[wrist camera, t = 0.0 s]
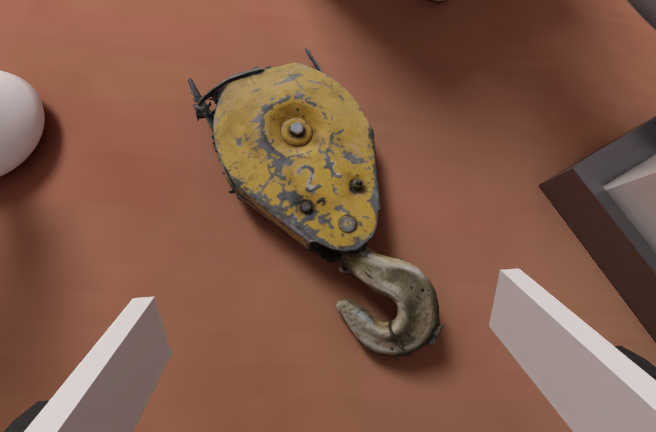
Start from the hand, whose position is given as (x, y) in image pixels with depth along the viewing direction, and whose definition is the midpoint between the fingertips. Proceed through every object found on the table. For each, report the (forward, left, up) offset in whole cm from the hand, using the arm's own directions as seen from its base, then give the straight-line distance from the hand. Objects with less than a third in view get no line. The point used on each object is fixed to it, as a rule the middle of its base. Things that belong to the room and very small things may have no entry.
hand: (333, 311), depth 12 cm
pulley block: (+9, 0, -16) cm, 18 cm away
